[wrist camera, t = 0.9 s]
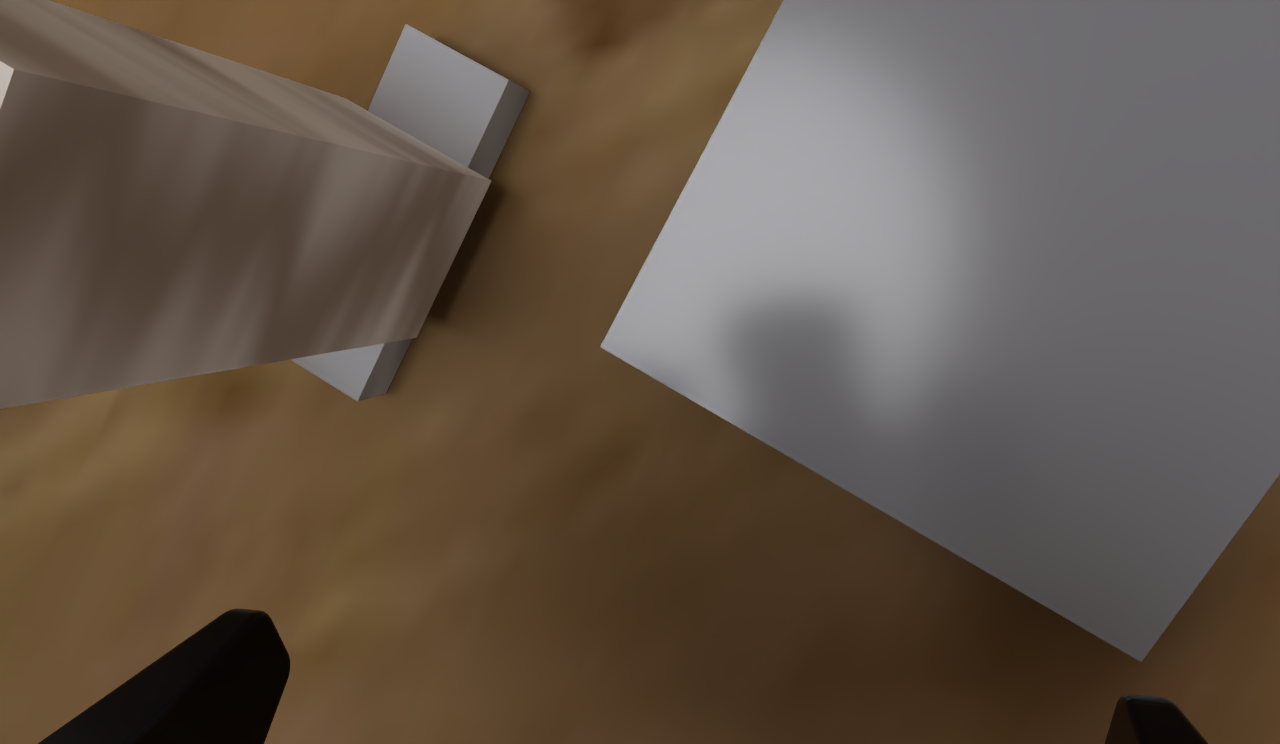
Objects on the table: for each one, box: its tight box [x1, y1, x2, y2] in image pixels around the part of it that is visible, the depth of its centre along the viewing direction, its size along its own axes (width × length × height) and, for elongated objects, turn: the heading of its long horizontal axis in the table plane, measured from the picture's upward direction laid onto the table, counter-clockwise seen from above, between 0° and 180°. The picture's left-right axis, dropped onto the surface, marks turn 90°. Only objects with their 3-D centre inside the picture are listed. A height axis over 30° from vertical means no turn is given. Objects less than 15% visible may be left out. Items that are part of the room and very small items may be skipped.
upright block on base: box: [0, 0, 530, 409], centre depth 17 cm, size 9×4×14 cm, turn 151°
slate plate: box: [600, 0, 1280, 662], centre depth 20 cm, size 14×14×2 cm
